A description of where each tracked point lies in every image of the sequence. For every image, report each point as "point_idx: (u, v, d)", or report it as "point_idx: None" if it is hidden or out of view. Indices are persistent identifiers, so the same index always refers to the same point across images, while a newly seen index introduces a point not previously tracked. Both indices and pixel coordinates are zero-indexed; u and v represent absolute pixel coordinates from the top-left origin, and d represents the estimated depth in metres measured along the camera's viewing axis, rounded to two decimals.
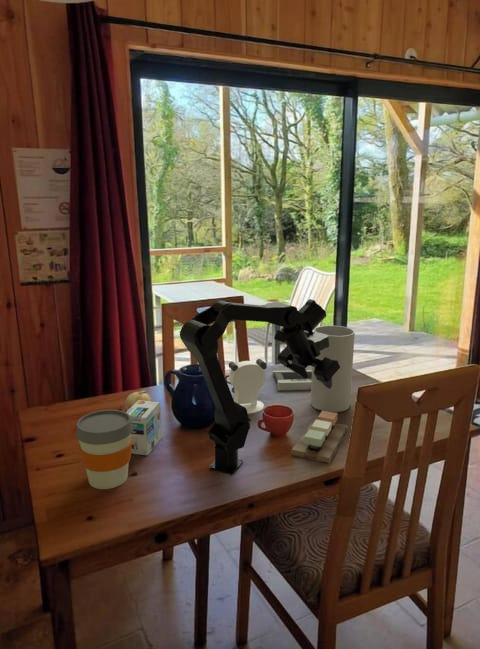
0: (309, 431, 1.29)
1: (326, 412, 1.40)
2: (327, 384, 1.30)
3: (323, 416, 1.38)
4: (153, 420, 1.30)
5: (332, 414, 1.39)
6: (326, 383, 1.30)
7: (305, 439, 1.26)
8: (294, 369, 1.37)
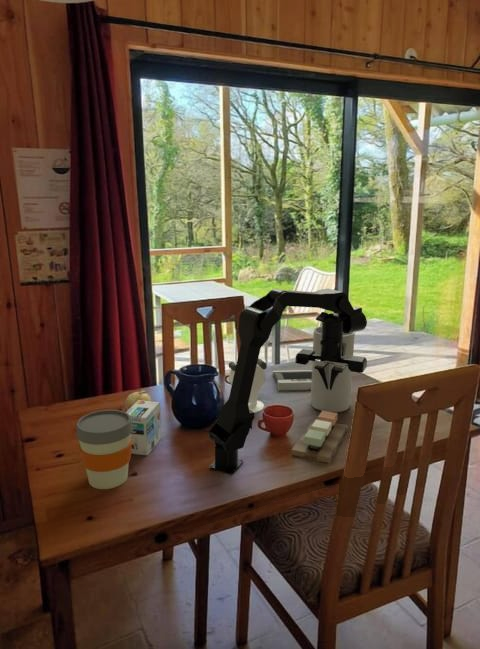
0: (309, 431, 1.29)
1: (326, 412, 1.40)
2: (334, 382, 1.35)
3: (323, 416, 1.38)
4: (153, 420, 1.30)
5: (332, 414, 1.39)
6: (334, 380, 1.34)
7: (305, 439, 1.26)
8: (325, 373, 1.34)
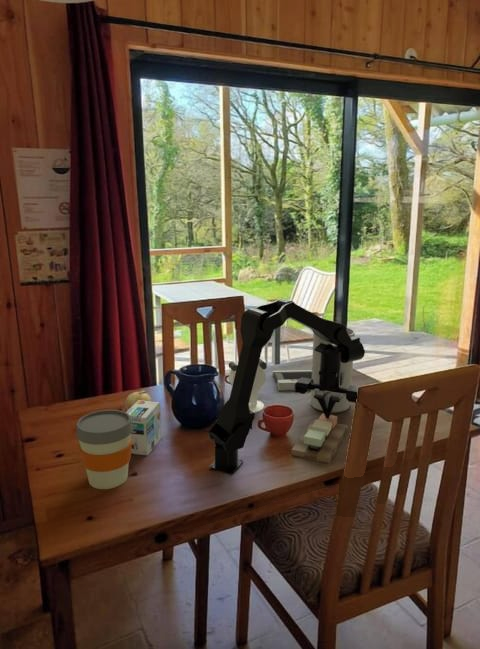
0: (309, 431, 1.29)
1: None
2: (331, 411, 1.37)
3: (323, 418, 1.38)
4: (153, 420, 1.30)
5: (332, 417, 1.39)
6: (332, 409, 1.36)
7: (305, 439, 1.26)
8: (324, 402, 1.36)
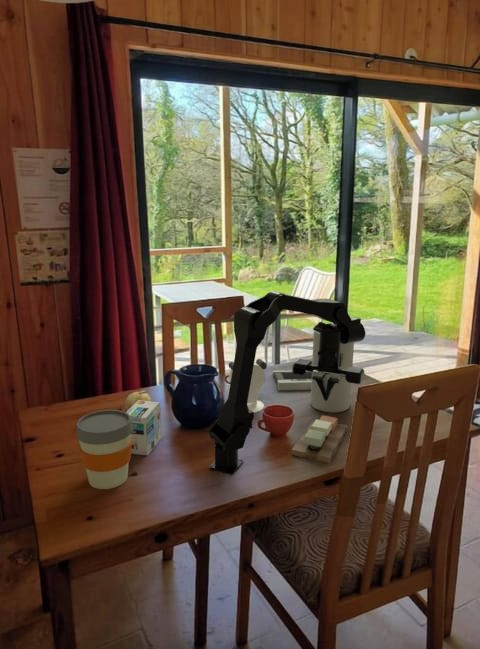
0: (309, 431, 1.29)
1: (325, 417, 1.40)
2: (330, 392, 1.34)
3: (323, 420, 1.38)
4: (153, 420, 1.30)
5: (332, 419, 1.39)
6: (330, 390, 1.33)
7: (305, 439, 1.26)
8: (323, 384, 1.33)
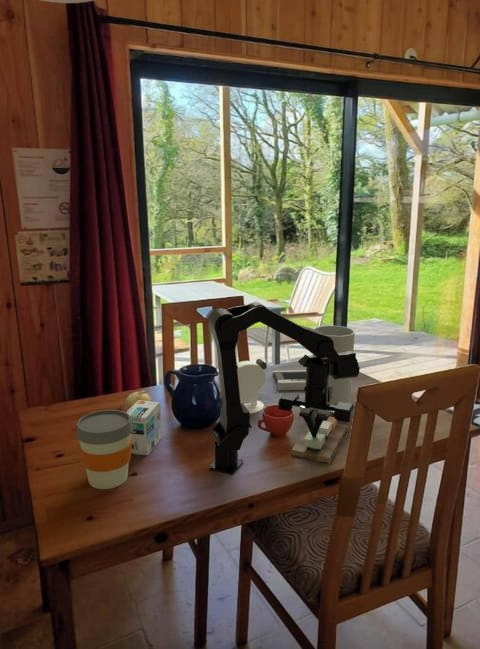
0: (309, 434, 1.29)
1: None
2: (318, 429, 1.25)
3: None
4: (153, 420, 1.30)
5: (332, 419, 1.39)
6: (319, 427, 1.25)
7: (305, 442, 1.26)
8: (311, 420, 1.25)
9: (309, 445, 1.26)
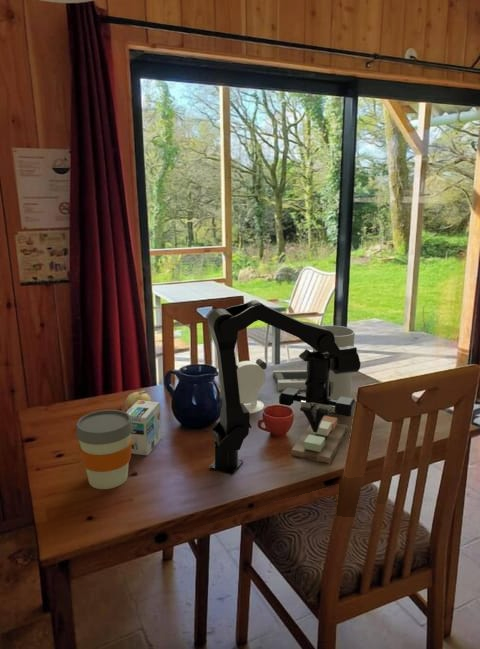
0: (309, 436, 1.29)
1: (325, 417, 1.40)
2: (319, 424, 1.25)
3: (323, 420, 1.38)
4: (153, 420, 1.30)
5: (332, 419, 1.39)
6: (320, 422, 1.25)
7: (305, 444, 1.27)
8: (312, 415, 1.24)
9: (309, 448, 1.26)
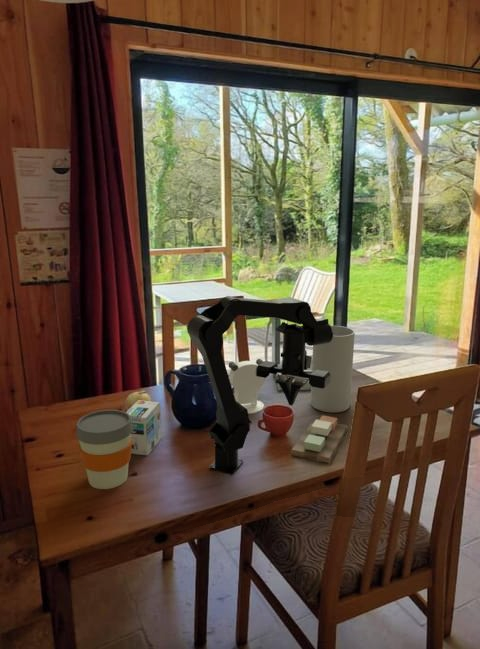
0: (309, 436, 1.29)
1: (325, 417, 1.40)
2: (294, 397, 1.26)
3: (323, 420, 1.38)
4: (153, 420, 1.30)
5: (332, 419, 1.39)
6: (295, 395, 1.26)
7: (305, 444, 1.27)
8: (287, 387, 1.25)
9: (309, 448, 1.26)
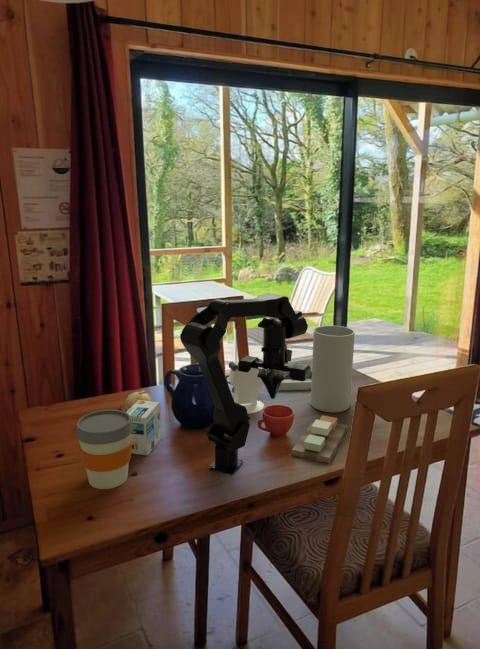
0: (309, 436, 1.29)
1: (325, 417, 1.40)
2: (276, 390, 1.29)
3: (323, 420, 1.38)
4: (153, 420, 1.30)
5: (332, 419, 1.39)
6: (276, 388, 1.28)
7: (305, 444, 1.27)
8: (268, 381, 1.28)
9: (309, 448, 1.26)
